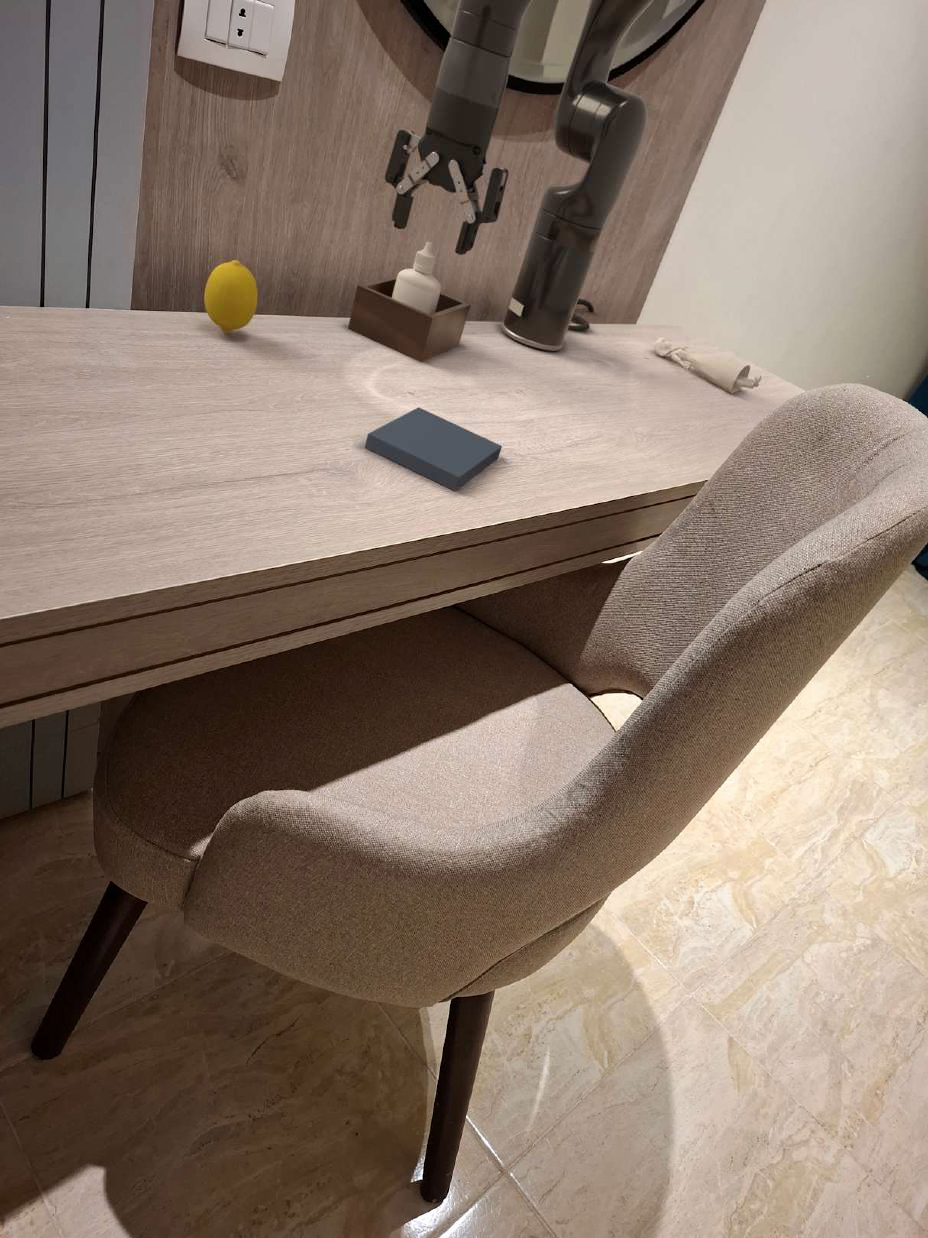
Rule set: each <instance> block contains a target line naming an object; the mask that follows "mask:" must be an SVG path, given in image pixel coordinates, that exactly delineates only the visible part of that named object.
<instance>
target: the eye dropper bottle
mask: <svg viewBox="0 0 928 1238" xmlns="http://www.w3.org/2000/svg"><path fill="white" fill-rule="evenodd" d="M436 260H437V256H436V255H435V254H434V253H433V242H431V241H426V243H425V245H424V247H423V249H420V250H417V251H416V252H415V258H414V262H413V266H412V268H405V269H402V270H401V271H399V272H398V274H397V275H398V276H397V275H396V276H397V279H396V283H395V287H394V291H393V295H392V298H393V299H395V300H397V301H400V302H402V303H404V304H406V305H409V306H411V307H413V308H416V309H418V310H420V311H422V312H425V313H427V314H429V315H431V314H434V313H435V310H436V307H437V303H438V299H439V295H440V292H441V290H442V285H441V283H440V282H439V280H438V279H436V278H435V277H434V276H433V275H432V273H433V270H434V267H435V263H436Z"/></svg>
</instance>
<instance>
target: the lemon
mask: <svg viewBox="0 0 928 1238" xmlns="http://www.w3.org/2000/svg"><path fill="white" fill-rule="evenodd" d="M257 286H258V285H257V282H256V278H255V277H254V275H253V274H252V272H251V271H250V269H248V268H247V267H246V266H244V265H243V264H242V263H241V262H240V260H237V259H233V260H232V261H228V262H224V263H221V264H219V265H217V266H216V267H215V268H214V269H213V270H212V272H211V273H210V275H209V276H208V279H207V282H206V285H205V289H204V295H203V296H204V298H203V299H204V307H205V310H206V314H207V315H208V317H209V319H210V320H211V321H212V322H213V323H214V324H215V326H218V327H219V328H220V329H221V331H222V332H223V333H224V334H230V333H232V332H233V331H236V330H240V329H243V328H244V327H246V326H247V325H248V324H249V323H250V322H251V320H252V319H253V318H254V316H255V315H256V310H257V306H258V298H259V296H258V287H257Z"/></svg>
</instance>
